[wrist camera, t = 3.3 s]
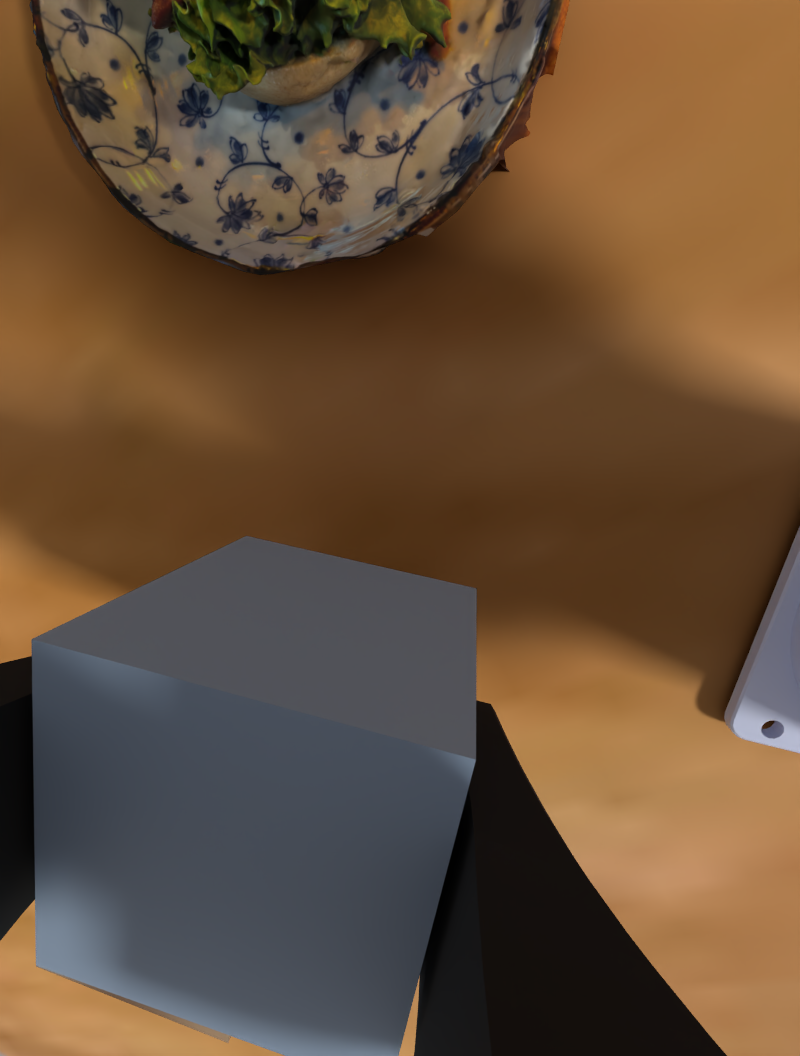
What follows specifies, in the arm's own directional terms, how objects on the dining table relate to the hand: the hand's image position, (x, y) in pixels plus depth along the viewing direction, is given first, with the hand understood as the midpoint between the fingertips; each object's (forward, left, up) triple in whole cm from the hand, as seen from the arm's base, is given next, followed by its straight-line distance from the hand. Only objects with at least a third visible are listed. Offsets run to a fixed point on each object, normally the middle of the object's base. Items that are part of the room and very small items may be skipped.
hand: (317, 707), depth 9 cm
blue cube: (0, 0, -2) cm, 2 cm away
